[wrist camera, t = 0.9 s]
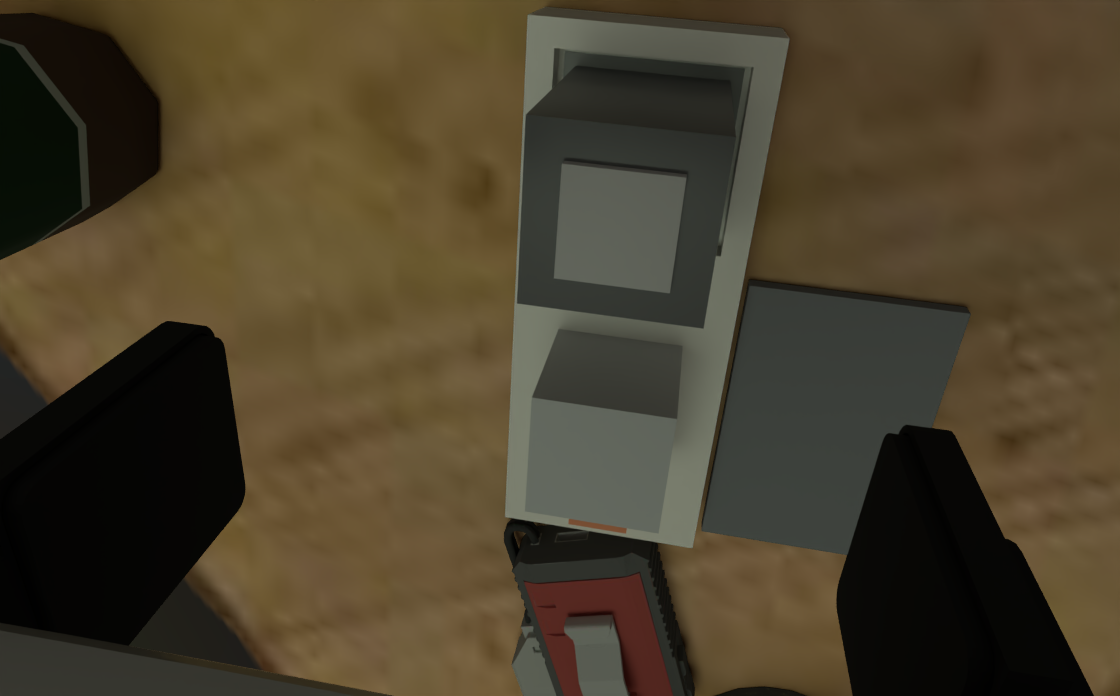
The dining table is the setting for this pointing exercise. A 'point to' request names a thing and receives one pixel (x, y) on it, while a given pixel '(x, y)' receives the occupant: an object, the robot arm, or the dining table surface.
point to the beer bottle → (67, 128)
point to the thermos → (761, 692)
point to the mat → (821, 407)
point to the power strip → (627, 344)
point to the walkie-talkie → (594, 616)
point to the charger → (625, 194)
